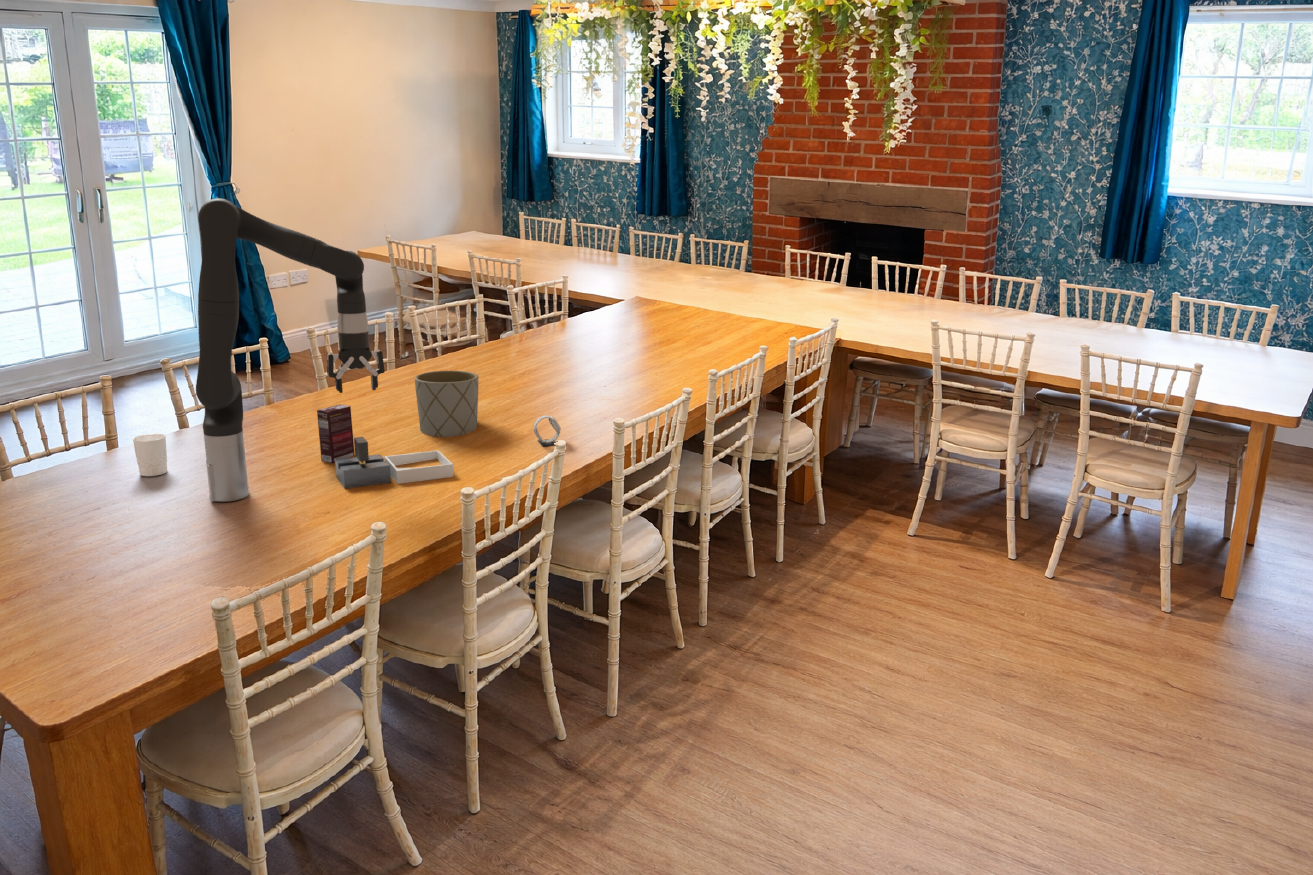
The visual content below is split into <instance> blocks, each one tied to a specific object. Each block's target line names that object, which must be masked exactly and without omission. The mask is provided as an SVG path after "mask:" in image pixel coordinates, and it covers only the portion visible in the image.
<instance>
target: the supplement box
mask: <svg viewBox="0 0 1313 875" xmlns="http://www.w3.org/2000/svg"><path fill="white" fill-rule="evenodd" d="M351 407H352V406H351V405H346V404H340V403H339V404H336V405H331V406H328V407H323V408H321V409H317V410H316V413H317V414H316V415H317V423H318V424H317V426H318V427H317V428H318V436H319V450H320V459H321V462H324V463H327V464H328V463H329V464H332V465H335V459H343V458H351V457H352V456H353V457H354V456H355V455H354V454H355V446H354V432H353V431H354V430H353V421H352V409H351Z"/></svg>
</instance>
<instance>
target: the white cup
mask: <svg viewBox="0 0 1313 875" xmlns="http://www.w3.org/2000/svg"><path fill="white" fill-rule="evenodd" d="M166 438H167V437H166V435H165V434H163V433H147V434H142V435H138V436H134V437H133V438H132V443H133V447H134V453H135V458H136V463H137V466H138V472H139V475H140V476H142V477H154V476H161V475H165V474H166V473H167V472H168V464H167V463H168V455H167V440H166Z"/></svg>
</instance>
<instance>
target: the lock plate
mask: <svg viewBox="0 0 1313 875" xmlns="http://www.w3.org/2000/svg"><path fill="white" fill-rule="evenodd" d="M334 465H335V474H336V475H335V476H336V478H337V479H338V481H339V483H340V484H341V486H342V487H343V489H353V488H361V487H368V486H376V485H377V486H378V485H385V484H392V481H391V480H392V477H391V475H390V465H389V464H388V463H387V462H386V461H384V456H382V455H381V454H371V455H369V460H366V461H365V464H359V460H358V459H357V457H356V456H353V457H352V456H351V457H348V458H343V459H335V463H334Z"/></svg>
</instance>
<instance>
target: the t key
mask: <svg viewBox="0 0 1313 875" xmlns="http://www.w3.org/2000/svg"><path fill="white" fill-rule="evenodd" d="M353 441H354V453H355V455H354V457H357V459H358V460H359V464H365V461H366V460H369V441H368V440H367V439H366V438H365V437H364V436H357V437H353Z"/></svg>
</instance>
